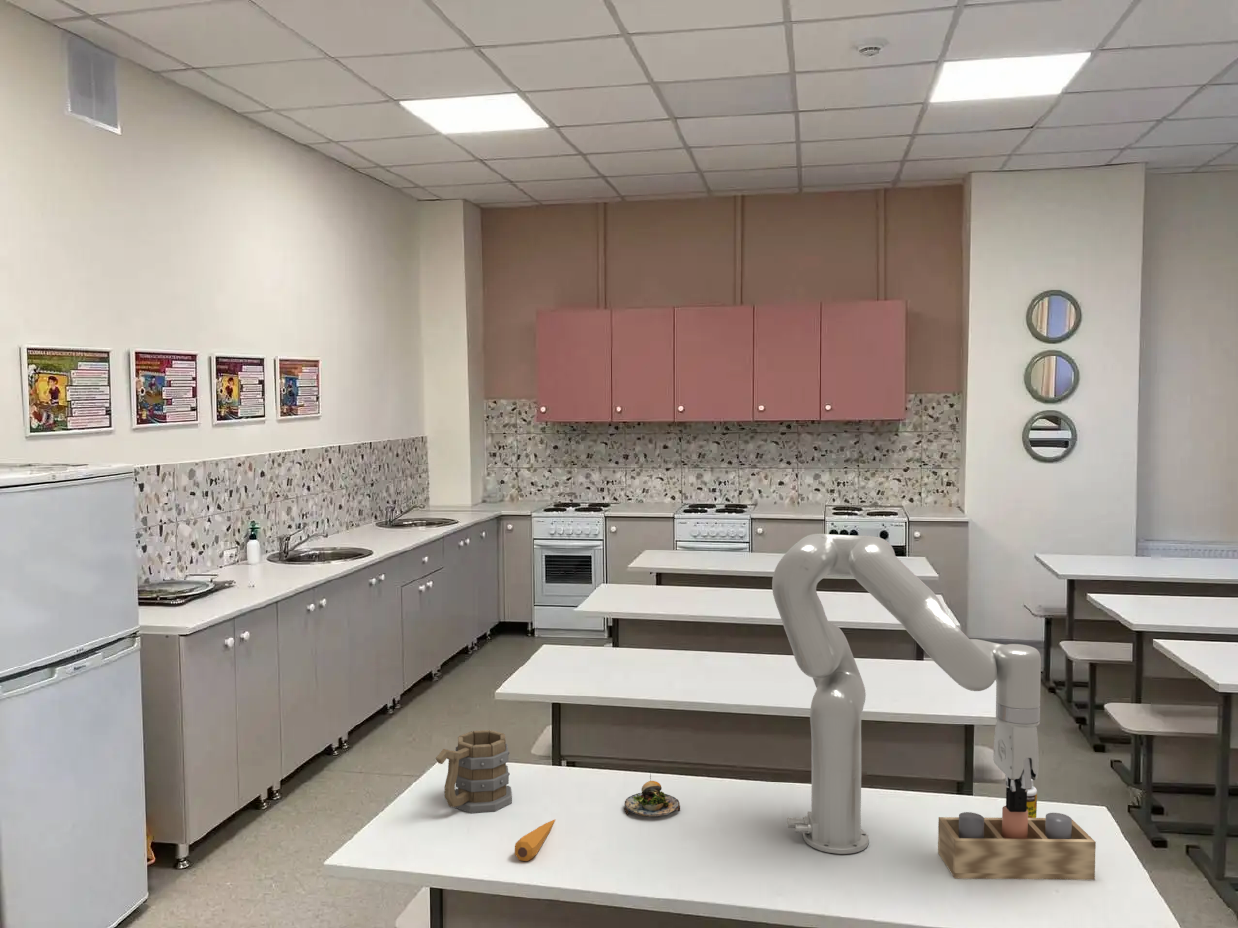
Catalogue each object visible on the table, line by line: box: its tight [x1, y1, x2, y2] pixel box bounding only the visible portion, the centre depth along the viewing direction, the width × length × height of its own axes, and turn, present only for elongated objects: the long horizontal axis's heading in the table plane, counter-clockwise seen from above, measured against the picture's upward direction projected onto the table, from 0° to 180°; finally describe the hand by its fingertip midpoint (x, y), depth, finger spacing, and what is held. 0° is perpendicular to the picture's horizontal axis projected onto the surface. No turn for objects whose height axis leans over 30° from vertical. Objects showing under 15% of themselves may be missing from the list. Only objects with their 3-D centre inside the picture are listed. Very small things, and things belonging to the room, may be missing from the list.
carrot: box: [514, 819, 556, 862], centre depth 190 cm, size 20×4×4 cm, turn 166°
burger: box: [623, 773, 681, 817], centre depth 204 cm, size 12×12×8 cm
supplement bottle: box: [1007, 779, 1038, 818], centre depth 195 cm, size 6×6×10 cm
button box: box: [937, 816, 1097, 881], centre depth 178 cm, size 25×10×7 cm, turn 89°
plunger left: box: [958, 811, 985, 839], centre depth 178 cm, size 4×4×7 cm
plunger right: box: [1045, 812, 1073, 839], centre depth 178 cm, size 4×4×7 cm
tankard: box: [435, 729, 513, 814], centre depth 205 cm, size 20×13×15 cm, turn 144°
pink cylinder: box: [1001, 805, 1028, 839], centre depth 178 cm, size 4×4×7 cm
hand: (1016, 809), depth 178 cm, fingers closed
